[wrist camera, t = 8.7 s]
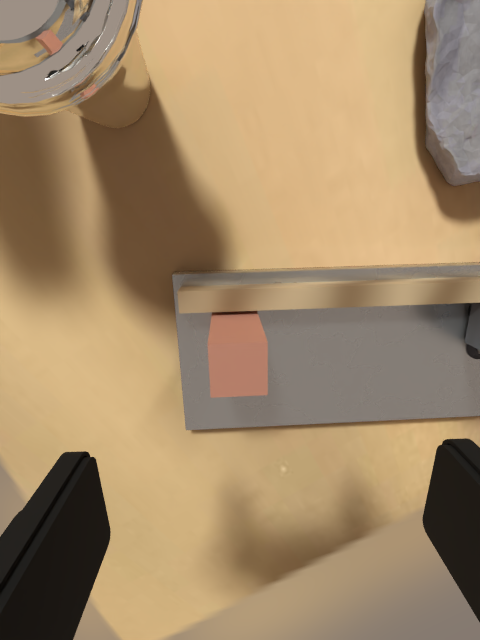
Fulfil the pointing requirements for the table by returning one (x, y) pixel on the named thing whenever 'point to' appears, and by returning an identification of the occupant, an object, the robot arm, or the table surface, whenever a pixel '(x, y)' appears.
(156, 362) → the table surface
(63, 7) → the domed lid cup
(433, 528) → the robot arm
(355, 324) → the bolt plate
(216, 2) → the table surface
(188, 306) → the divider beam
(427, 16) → the stone block
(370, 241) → the table surface
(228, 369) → the block
